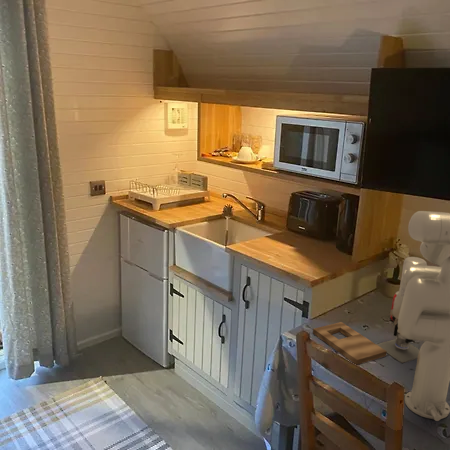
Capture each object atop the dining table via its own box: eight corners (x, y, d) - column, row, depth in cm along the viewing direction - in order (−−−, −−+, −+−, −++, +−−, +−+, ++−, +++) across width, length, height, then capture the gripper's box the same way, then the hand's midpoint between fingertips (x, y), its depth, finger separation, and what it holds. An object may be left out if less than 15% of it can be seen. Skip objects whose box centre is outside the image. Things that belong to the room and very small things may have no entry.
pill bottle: (397, 341, 179) (401, 321, 177) (410, 346, 176) (414, 325, 174) (393, 346, 176) (396, 325, 173) (405, 351, 173) (409, 330, 171)
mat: (427, 355, 174) (427, 354, 174) (401, 363, 168) (402, 362, 168) (399, 338, 185) (399, 337, 185) (374, 345, 179) (374, 344, 179)
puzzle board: (385, 356, 173) (386, 351, 172) (356, 365, 166) (356, 359, 166) (340, 326, 193) (341, 321, 192) (312, 333, 186) (313, 328, 186)
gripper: (438, 299, 165) (429, 347, 170) (399, 281, 179) (392, 326, 184) (422, 303, 161) (414, 352, 166) (384, 284, 176) (378, 330, 181)
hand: (403, 338), depth 175 cm, fingers closed on pill bottle, 4 cm apart
